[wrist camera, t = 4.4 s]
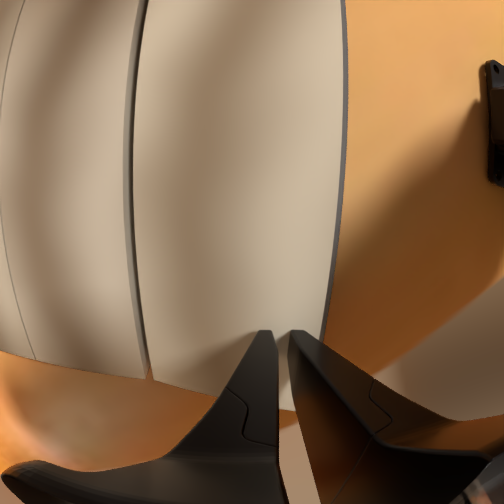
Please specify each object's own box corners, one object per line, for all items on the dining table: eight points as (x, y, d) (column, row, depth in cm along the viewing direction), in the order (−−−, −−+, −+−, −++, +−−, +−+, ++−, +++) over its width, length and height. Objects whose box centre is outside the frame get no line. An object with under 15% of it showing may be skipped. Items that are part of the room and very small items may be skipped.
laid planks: (162, -52, 7) (156, -66, 5) (151, 361, 12) (145, 379, 11) (-27, 20, 6) (-39, 16, 5) (-20, 330, 11) (-31, 339, 10)
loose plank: (330, -69, 5) (329, -87, 4) (306, 392, 11) (303, 412, 10) (178, -54, 7) (166, -68, 5) (166, 364, 12) (153, 379, 11)
